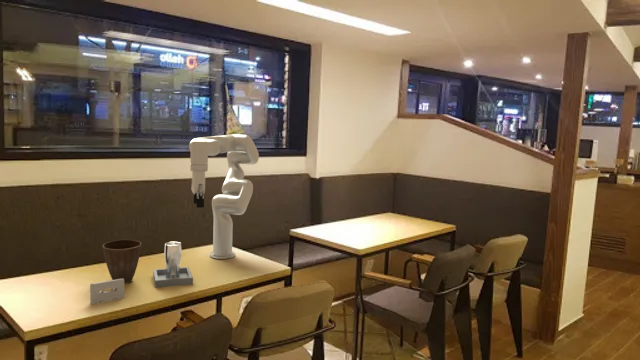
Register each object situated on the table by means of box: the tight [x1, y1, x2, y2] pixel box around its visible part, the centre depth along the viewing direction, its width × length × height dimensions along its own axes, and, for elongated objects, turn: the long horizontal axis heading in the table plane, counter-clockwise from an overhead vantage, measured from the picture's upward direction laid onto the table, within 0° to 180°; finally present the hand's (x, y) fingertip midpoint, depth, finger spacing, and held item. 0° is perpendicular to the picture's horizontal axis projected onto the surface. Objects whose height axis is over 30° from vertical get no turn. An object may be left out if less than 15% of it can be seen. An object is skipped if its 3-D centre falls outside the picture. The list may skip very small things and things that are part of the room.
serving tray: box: [152, 266, 194, 289], centre depth 205 cm, size 15×15×3 cm
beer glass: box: [164, 241, 182, 279], centre depth 205 cm, size 7×7×15 cm
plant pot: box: [102, 239, 142, 285], centre depth 200 cm, size 15×15×16 cm
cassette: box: [89, 278, 125, 305], centre depth 180 cm, size 12×2×8 cm, turn 129°
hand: (198, 205), depth 216 cm, fingers open, 9 cm apart
